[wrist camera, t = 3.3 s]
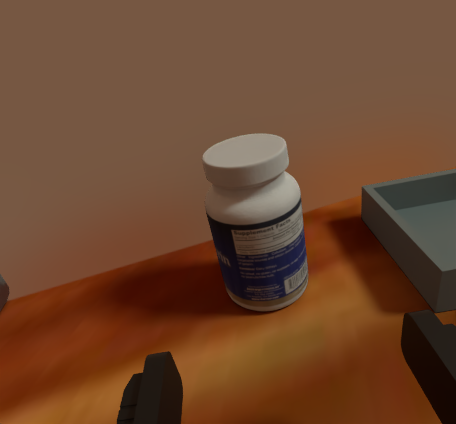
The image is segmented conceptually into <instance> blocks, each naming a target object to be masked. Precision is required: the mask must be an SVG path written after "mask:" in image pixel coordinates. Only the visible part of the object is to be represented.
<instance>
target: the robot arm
mask: <svg viewBox="0 0 456 424" xmlns="http://www.w3.org/2000/svg"><path fill="white" fill-rule="evenodd" d="M8 296H9V287H8V285H7V283H6V282H5V281H4V279H3V277H2V276H1V274H0V311H1V309H2V308H3V306H4V305H5V303H6V301H7V299H8ZM401 348H402V352H403V355H404V358H405V360H406V362H407V364H408V366H409V367H410V369H411V371H412V373H413V374H414V376H415V378H416V379H417V381H418V383H419V385H420V386H421V388H422V390H423V392H424V393H425V395H426V397H427V398H428V400H429V402H430V404H431V405H432V407H433V409H434V410H435V412H436V414H437V416H438V417H439V419H440V421H441V423H442V424H456V326H455V325H453V324H447V325H443V324H442V323H441V322H440V320H439V319H438V318H437V316H436V315H435V314H434V313H433V312H432V311H431V310H423V311H417V312H410V313H405V314H404V318H403V327H402V337H401ZM182 401H183V387H182V380H181V377H180V374H179V372H178V369H177V367H176V365H175V362H174V360H173V357H172V355H171V353H170V352H169V351H168V352H162V353H156V354H150V355H148V356H147V357H146V360H145V365H144V370H143V373H138V374H133V376H132V378H131V379H130V381H129V383H128V384H127V386H126V388H125V389H124V392H123V397H122V401H121V405H120V410H119V414H118V418H117V424H181V414H182Z"/></svg>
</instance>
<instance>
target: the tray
mask: <svg viewBox="0 0 456 424" xmlns="http://www.w3.org/2000/svg"><path fill="white" fill-rule="evenodd" d="M361 219H362V220H363V221H364V222H365V224H366V225H367V226H368V228H369V229H370V230H371V231H372V233H373V234H374V235H375V237H376V238H377V239H378V240H379V242H380V243H381V244H382V245H383V247H384V248H385V249H386V251H387V252H388V253H389V254H390V256H391V257H392V258H393V259H394V261H395V262H396V263H397V265H398V266H399V267H400V268H401V270H402V271H403V272H404V273H405V275H406V276H407V277H408V279H409V280H410V281H411V282H412V284H413V285H414V286H415V287H416V289H417V290H418V291H419V293H420V294H421V295H422V296H423V298H424V299H425V300H426V301H427V303H428V304H429V305H430V307H431V308H432V309H433V310H434V312H435V313H437V312H443V311H449V310H455V309H456V169H452V170H446V171H441V172H436V173H430V174H426V175H420V176H414V177H409V178H404V179H398V180H393V181H387V182H382V183H377V184H371V185H366V186H362V212H361Z"/></svg>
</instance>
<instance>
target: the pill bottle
mask: <svg viewBox="0 0 456 424" xmlns="http://www.w3.org/2000/svg"><path fill="white" fill-rule="evenodd" d="M202 161H203V166H204V170H205V174H206V178H207V180H208V181H210V182H211V183H212V184H213V185H212V186H211V187H210V188H209V190H208V192H207V194H206V198H205V208H206V214H207V217H208V221H209V225H210V228H211V232H212V236H213V240H214V244H215V248H216V252H217V256H218V260H219V264H220V267H221V271H222V275H223V279H224V283H225V287H226V290H227V292H228V294H229V296H230V297H231V299H232V300H233V301H234V302H235V303H237V304H238V305H240V306H242V307H244V308H247V309H250V310H255V311H273V310H277V309H281V308H283V307H286V306H288V305H290V304H292V303H293V302H294V301H296V300H297V299H298V298H299V297H300V296H301V295H302V294H303V292H304V291H305V289H306V286H307V283H308V266H307V256H306V247H305V237H304V226H303V216H302V204H301V195H300V189H299V186H298V183H297V182H296V180H295V179H294V178H293V177H292V176H291V175H289V174H288V173H286V172H285V171H284V170H285V169H286V168H287V166H288V164H289V158H288V153H287V146H286V142H285V140H284V139H283V138H281V137H279V136H276V135H272V134H249V135H243V136H238V137H234V138H230V139H228V140H224V141H222V142H219V143H217V144H215V145H214V146H212V147H210V148H209V149H208V150H207V151H206V152H205V153H204V154H203V157H202Z"/></svg>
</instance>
